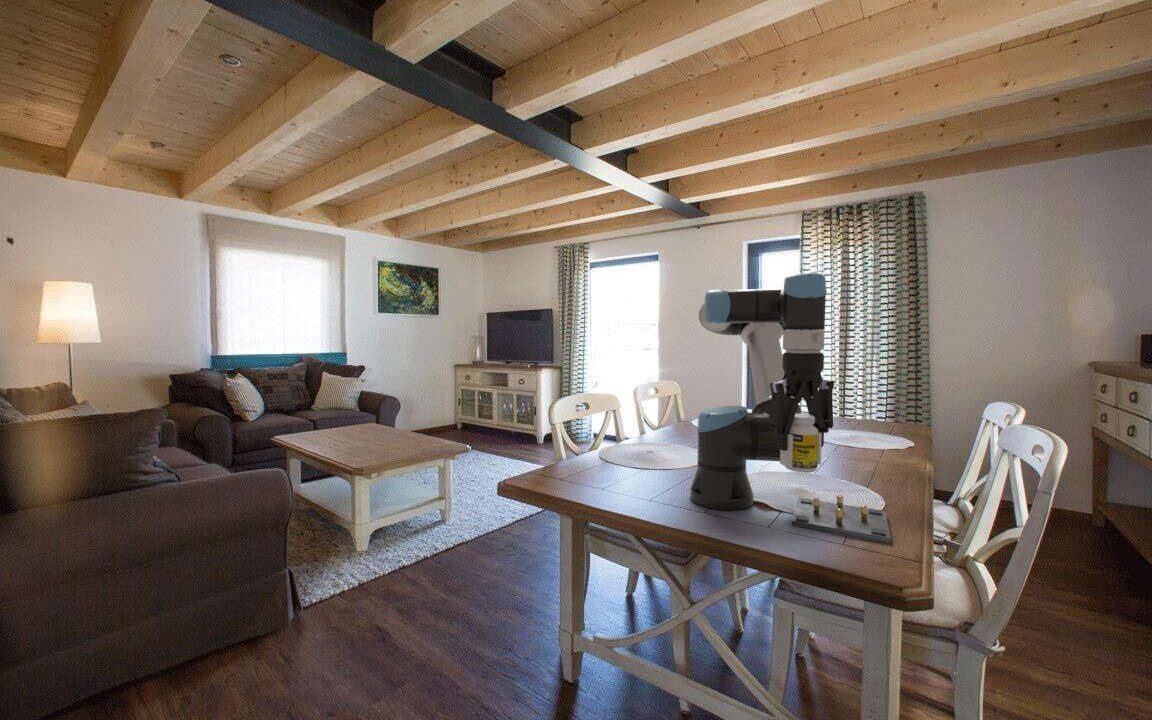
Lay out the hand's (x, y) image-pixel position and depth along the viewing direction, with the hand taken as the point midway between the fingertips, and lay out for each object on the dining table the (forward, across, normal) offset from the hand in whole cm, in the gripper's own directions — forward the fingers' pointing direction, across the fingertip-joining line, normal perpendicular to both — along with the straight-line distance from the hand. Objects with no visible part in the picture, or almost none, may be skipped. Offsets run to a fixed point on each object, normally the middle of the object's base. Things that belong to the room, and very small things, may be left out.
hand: (800, 463), depth 96 cm
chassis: (+15, +14, +4) cm, 21 cm away
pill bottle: (+1, 0, 0) cm, 1 cm away
